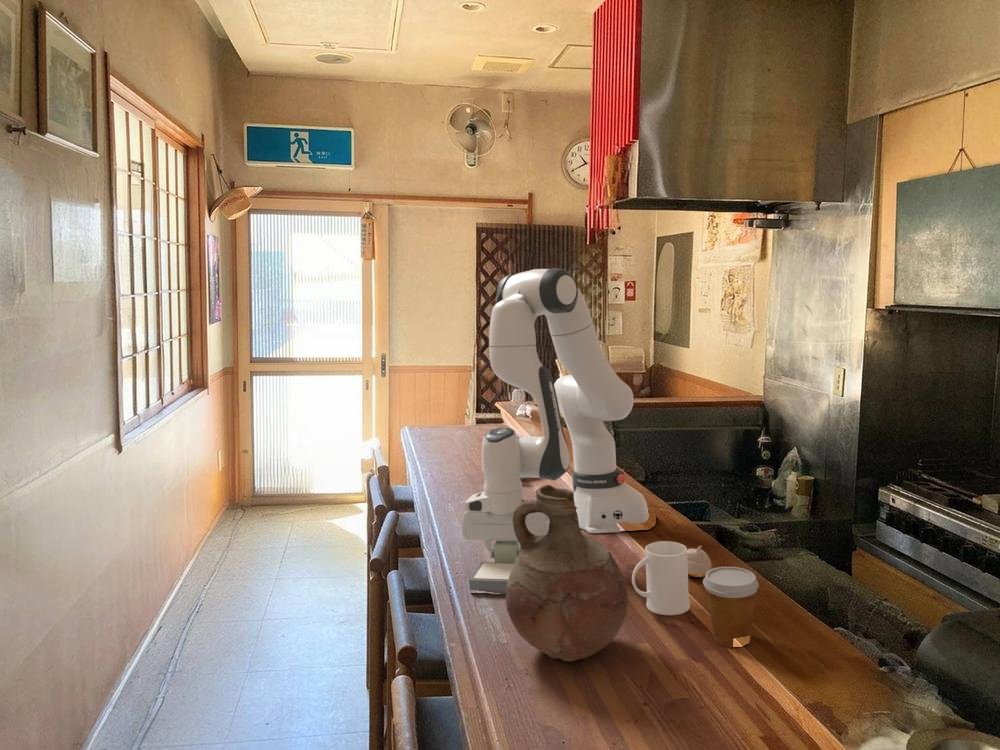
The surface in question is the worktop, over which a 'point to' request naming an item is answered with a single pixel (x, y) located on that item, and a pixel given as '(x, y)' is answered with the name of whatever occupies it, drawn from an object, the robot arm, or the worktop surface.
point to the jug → (563, 582)
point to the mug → (665, 578)
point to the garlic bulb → (698, 561)
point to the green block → (506, 551)
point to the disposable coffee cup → (730, 602)
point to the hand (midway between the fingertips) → (507, 558)
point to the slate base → (491, 577)
